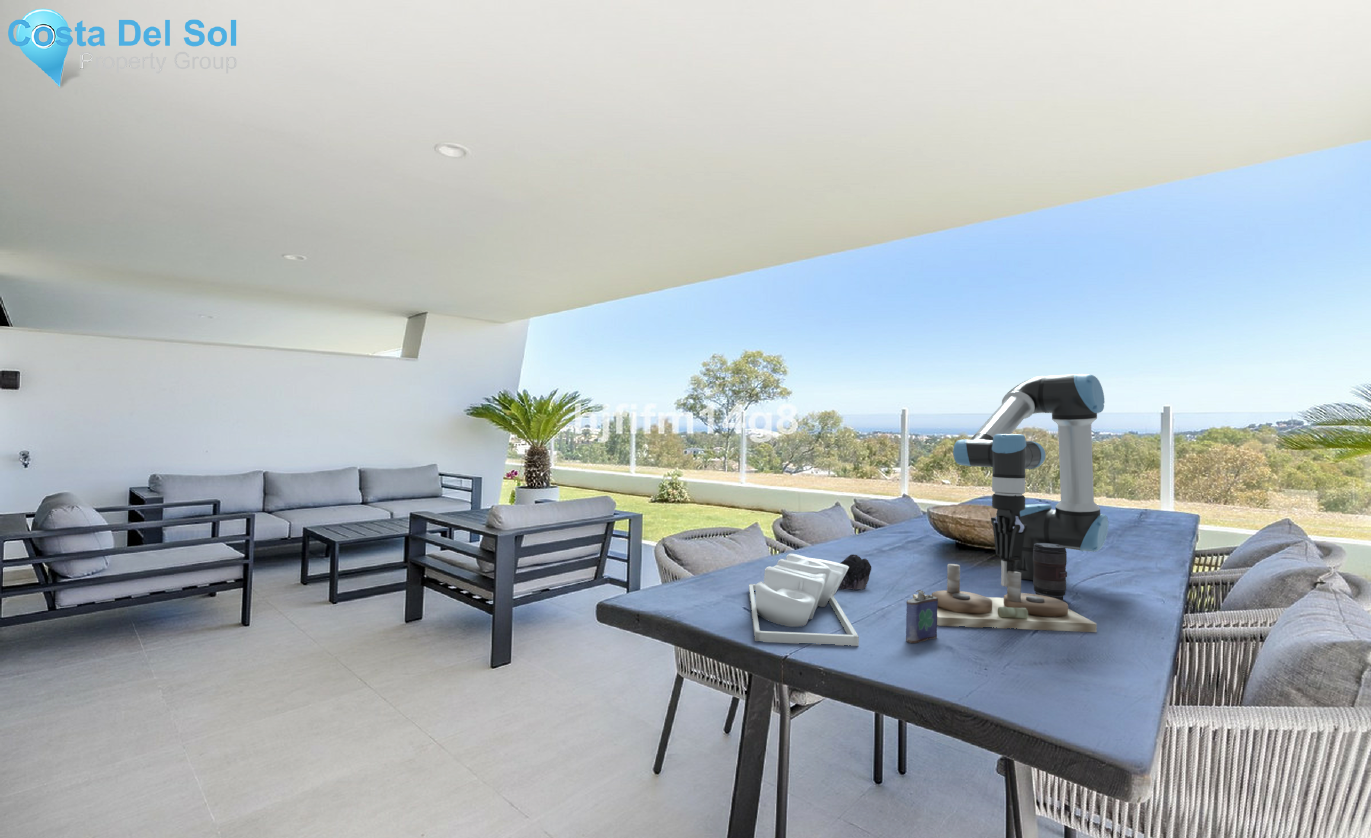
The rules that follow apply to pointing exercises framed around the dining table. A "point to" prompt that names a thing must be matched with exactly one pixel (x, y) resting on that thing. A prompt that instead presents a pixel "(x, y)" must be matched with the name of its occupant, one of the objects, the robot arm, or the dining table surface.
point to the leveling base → (1014, 619)
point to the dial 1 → (960, 595)
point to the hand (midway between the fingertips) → (1007, 585)
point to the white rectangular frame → (805, 637)
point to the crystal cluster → (855, 573)
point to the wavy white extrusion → (797, 589)
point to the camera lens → (1050, 570)
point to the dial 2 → (1031, 599)
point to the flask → (921, 618)
